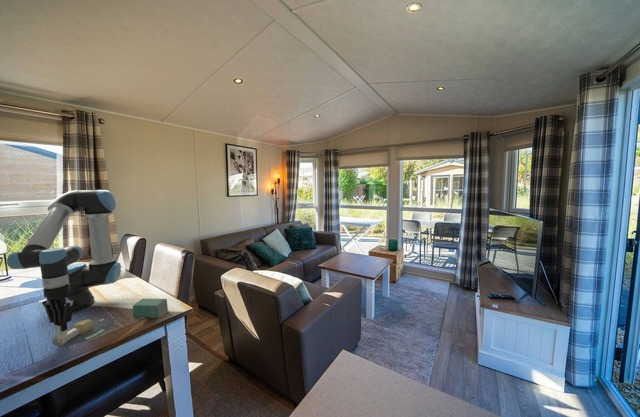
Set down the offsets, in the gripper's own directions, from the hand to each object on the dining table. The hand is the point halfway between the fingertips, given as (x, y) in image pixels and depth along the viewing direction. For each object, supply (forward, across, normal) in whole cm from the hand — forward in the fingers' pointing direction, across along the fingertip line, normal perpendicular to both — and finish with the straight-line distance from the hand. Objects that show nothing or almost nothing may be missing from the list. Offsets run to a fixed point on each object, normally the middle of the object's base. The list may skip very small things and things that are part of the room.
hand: (62, 337), depth 106 cm
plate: (+3, +1, +7) cm, 8 cm away
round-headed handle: (+2, +1, +4) cm, 4 cm away
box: (+3, +20, +25) cm, 32 cm away
